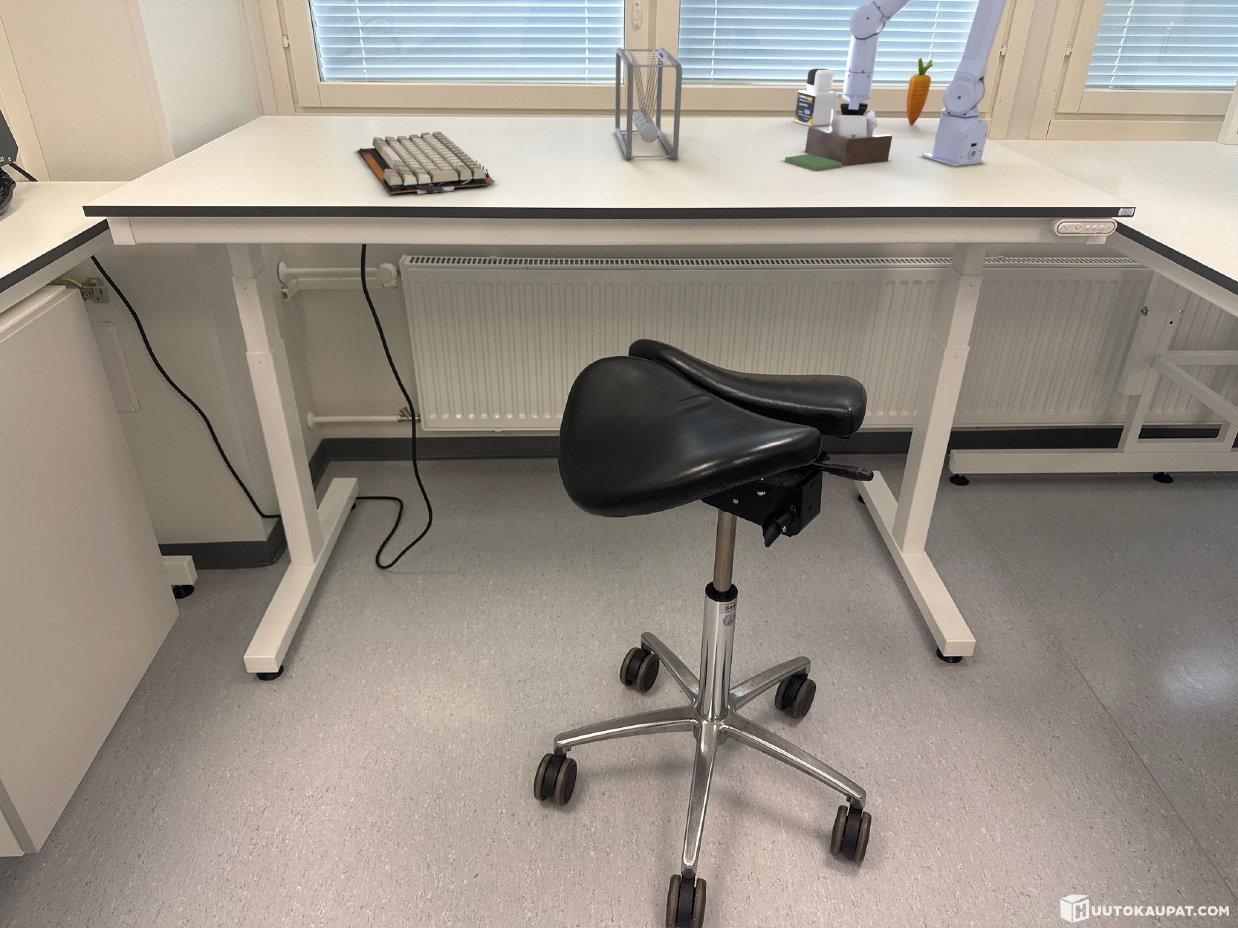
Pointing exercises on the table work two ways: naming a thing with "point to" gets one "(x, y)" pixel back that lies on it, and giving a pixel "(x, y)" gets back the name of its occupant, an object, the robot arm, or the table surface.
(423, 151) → the mechanical keyboard
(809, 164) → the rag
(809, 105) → the medicine bottle
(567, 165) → the table surface
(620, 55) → the newton's cradle
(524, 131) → the table surface
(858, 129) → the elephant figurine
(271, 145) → the table surface
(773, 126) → the table surface
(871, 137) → the corner fence
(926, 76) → the carrot
